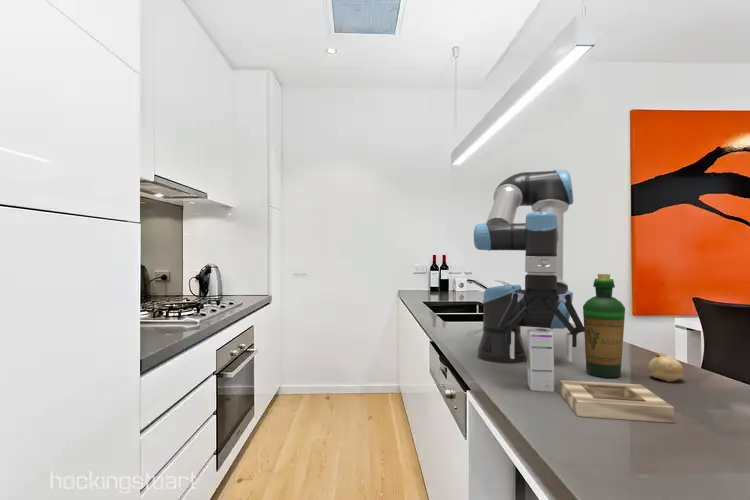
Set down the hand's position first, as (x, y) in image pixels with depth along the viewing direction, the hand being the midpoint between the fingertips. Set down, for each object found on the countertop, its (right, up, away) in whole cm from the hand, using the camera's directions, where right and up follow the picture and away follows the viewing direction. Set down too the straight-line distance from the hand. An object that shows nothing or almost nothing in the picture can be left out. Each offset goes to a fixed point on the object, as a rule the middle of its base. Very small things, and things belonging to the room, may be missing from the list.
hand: (540, 359), depth 112 cm
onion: (+37, -8, +9) cm, 39 cm away
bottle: (+23, -8, +13) cm, 27 cm away
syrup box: (0, -7, 0) cm, 7 cm away
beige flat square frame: (+11, -7, -13) cm, 18 cm away
